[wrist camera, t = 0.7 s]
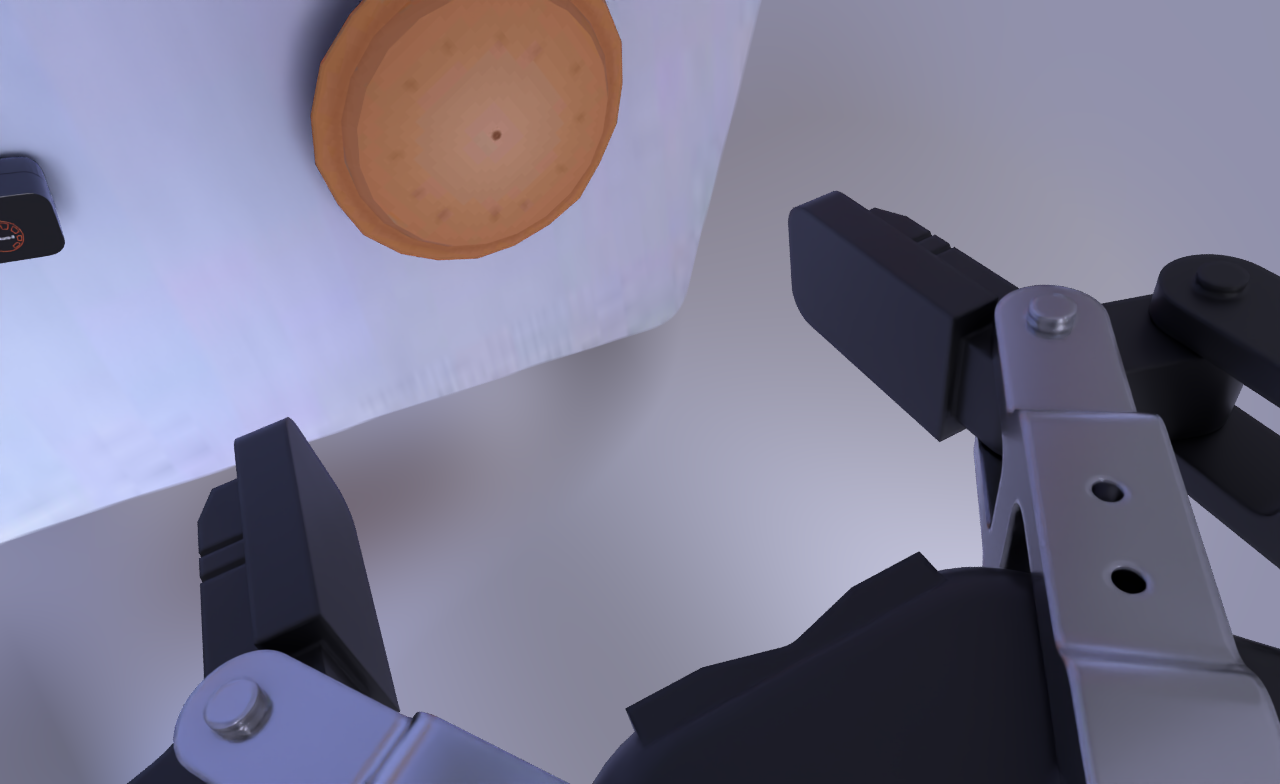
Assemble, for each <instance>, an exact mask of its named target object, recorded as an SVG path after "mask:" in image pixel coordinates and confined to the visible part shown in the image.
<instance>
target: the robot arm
mask: <svg viewBox="0 0 1280 784" xmlns="http://www.w3.org/2000/svg"><path fill="white" fill-rule="evenodd" d="M788 227H789V245H790V262H791V279H792V291H793V296H794V299H795V302H796V304H797V307H798V309H799V311H800V313H801V314H802V316H803V317H804V319H805V320H806V321H807V322H808V323H809V324H810V325H811V326H812V327H813V328H814V329H815V330H816V331H817V332H818V333H819V334H821V335H822V336H823V337H824V338H825V339H826V340H827V341H828V342H830V343H831V344H832V345H833V346H834V347H835V348H836V349H837V350H838V351H840V352H841V353H842V354H843V355H844V356H845V357H846V358H847V359H848V360H849V361H850V362H852V363H853V364H854V365H855V366H856V367H857V368H858V369H859V370H860V371H862V372H863V373H864V374H865V375H866V376H867V377H868V378H869V379H870V380H872V381H873V382H874V383H875V384H876V385H877V386H878V387H879V388H880V389H881V390H883V391H884V392H885V393H886V394H887V395H888V396H889V397H890V398H891V399H893V400H894V401H895V402H896V403H897V404H898V405H899V406H900V407H901V408H902V409H904V410H905V411H906V412H907V413H908V414H909V415H910V416H911V417H912V418H914V419H915V420H916V421H917V422H918V423H919V424H920V425H921V426H922V427H924V428H925V429H926V430H927V431H928V432H929V433H930V434H931V435H932V436H933V437H935V438H936V439H937V440H938V441H939V442H941V441H943V440H945V439H947V438H949V437H950V436H953V435H955V434H956V433H958V432H960V431H962V430H964V429H966V428H967V429H968V430H969V431H970V432H971V433H972V434H974V435H975V436H976V437H975V444H974V461H975V471H976V482H977V493H978V503H979V514H980V525H981V535H982V547H983V566H982V567H961V568H953V569H945V570H940V571H937V570H936V569H935V568H934V567H933V566H932V565H931V563H930V562H929V561H928V560H927V559H926V558H925V557H924V556H923V555H922V554H921V553H920V552H917V553H915V554H913V555H911V556H910V557H908V558H906V559H904V560H902V561H900V562H899V563H897V564H895V565H893V566H891V567H889V568H887V569H885V570H883V571H882V572H880V573H878V574H876V575H874V576H872V577H871V578H869V579H867V580H865V581H863V582H861V583H859V584H857V585H856V586H854V587H852V588H851V589H850V590H848V591H847V592H846V593H845V594H844V595H843V596H842V597H841V598H840V599H839V600H838V601H837V602H836V603H835V604H834V605H833V606H832V607H831V608H830V609H829V610H828V611H826V612H825V613H824V614H823V615H822V616H821V617H820V618H819V619H818V620H817V621H816V622H815V623H814V624H813V625H812V626H811V627H810V628H809V629H807V630H806V632H804V633H803V634H802V635H801V636H800V637H799V638H798V639H797V640H796V641H794V642H793V643H791V644H789V645H787V646H784V647H782V648H777V649H773V650H769V651H765V652H762V653H757V654H754V655H750V656H746V657H742V658H738V659H734V660H730V661H726V662H722V663H718V664H714V665H710V666H706V667H702V668H700V669H699V670H697V671H695V672H693V673H691V674H689V675H687V676H685V677H684V678H682V679H680V680H678V681H676V682H674V683H672V684H670V685H669V686H667V687H665V688H663V689H661V690H659V691H657V692H655V693H654V694H652V695H650V696H648V697H646V698H644V699H642V700H641V701H639V702H637V703H635V704H633V705H631V706H629V707H627V708H626V711H627V714H628V716H629V719H630V721H631V724H632V726H633V729H634V731H635V732H634V733H633V734H632V735H631V736H630V737H629V738H628V739H627V740H626V741H625V742H624V743H623V744H621V745H620V747H619V748H618V749H617V750H616V751H615V753H614V754H613V755H612V756H611V757H610V758H609V760H608V761H607V762H606V763H605V765H604V767H603V768H602V770H601V771H600V773H599V774H598V776H597V777H596V779H595V780H594V782H593V784H1280V649H1279V648H1275V647H1272V646H1269V645H1265V644H1262V643H1259V642H1255V641H1252V640H1249V639H1245V638H1242V637H1239V636H1236V635H1232V632H1231V628H1230V626H1229V622H1228V619H1227V616H1226V613H1225V610H1224V607H1223V603H1222V600H1221V597H1220V594H1219V591H1218V588H1217V585H1216V582H1215V579H1214V575H1213V572H1212V569H1211V566H1210V563H1209V560H1208V557H1207V554H1206V551H1205V547H1204V544H1203V541H1202V538H1201V535H1200V532H1199V529H1198V526H1197V523H1196V519H1195V516H1194V513H1193V510H1192V507H1191V504H1190V501H1189V498H1188V495H1189V496H1190V497H1191V498H1193V499H1194V500H1195V501H1196V502H1198V503H1199V504H1200V505H1201V506H1202V507H1204V508H1205V509H1206V510H1207V511H1209V512H1210V513H1211V514H1212V515H1214V516H1215V517H1216V518H1217V519H1219V520H1220V521H1221V522H1222V523H1223V524H1225V525H1226V526H1227V527H1229V528H1230V529H1231V530H1232V531H1233V532H1235V533H1236V534H1237V535H1238V536H1240V537H1241V538H1242V539H1243V540H1244V541H1246V542H1247V543H1248V544H1249V545H1251V546H1252V547H1253V548H1255V549H1256V550H1257V551H1258V552H1259V553H1261V554H1262V555H1263V556H1264V557H1266V558H1267V559H1268V560H1269V561H1271V562H1272V563H1273V564H1274V565H1276V566H1277V567H1278V568H1279V569H1280V436H1279V435H1278V434H1277V433H1275V432H1274V431H1272V430H1271V429H1269V428H1268V427H1266V426H1265V425H1263V424H1262V423H1260V422H1259V421H1257V420H1256V419H1254V418H1253V417H1252V416H1250V415H1249V414H1247V413H1246V412H1244V411H1243V410H1241V409H1240V408H1238V407H1237V406H1235V405H1234V404H1235V402H1236V400H1237V398H1238V395H1239V393H1240V391H1241V389H1242V386H1243V384H1244V385H1245V386H1247V387H1249V388H1250V389H1252V390H1253V391H1255V392H1256V393H1258V394H1259V395H1261V396H1262V397H1264V398H1265V399H1267V400H1268V401H1270V402H1271V403H1273V404H1275V405H1276V406H1278V407H1279V408H1280V276H1278V275H1276V274H1274V273H1272V272H1270V271H1268V270H1266V269H1265V268H1262V267H1261V266H1259V265H1256V264H1254V263H1252V262H1249V261H1246V260H1243V259H1239V258H1235V257H1231V256H1224V255H1214V254H1204V255H1203V254H1201V255H1191V256H1186V257H1182V258H1179V259H1177V260H1174V261H1172V262H1170V263H1168V264H1167V265H1166V266H1165V267H1164V268H1163V269H1162V270H1161V272H1160V274H1159V277H1158V280H1157V284H1156V287H1155V290H1154V293H1153V294H1151V295H1146V296H1140V297H1135V298H1129V299H1124V300H1119V301H1113V302H1108V303H1103V304H1101V303H1099V302H1098V301H1097V300H1096V299H1094V298H1093V297H1091V296H1090V295H1088V294H1085V293H1083V292H1081V291H1078V290H1075V289H1072V288H1068V287H1064V286H1055V285H1034V286H1028V287H1024V288H1020V289H1019V288H1018V287H1016V286H1015V285H1013V284H1011V283H1010V282H1008V281H1007V280H1005V279H1003V278H1002V277H1000V276H999V275H997V274H996V273H994V272H993V271H991V270H990V269H988V268H986V267H985V266H983V265H982V264H980V263H979V262H977V261H975V260H974V259H972V258H971V257H969V256H968V255H966V254H965V253H963V252H961V251H960V250H958V249H956V248H955V247H954V248H951V247H950V244H949V243H947V242H945V241H944V240H943V239H941V238H939V237H938V236H936V235H933V236H932V235H931V233H930V231H929V230H927V229H925V228H924V227H922V226H921V225H919V224H918V223H916V222H915V221H913V220H911V219H910V218H908V217H907V216H903V215H899V214H896V213H892V212H889V211H885V210H881V209H878V208H873V209H871V210H867V209H866V208H864V207H863V206H861V205H860V204H858V203H857V202H855V201H854V200H852V199H851V198H849V197H848V196H846V195H845V194H843V193H841V192H839V191H833V192H831V193H828V194H826V195H823V196H821V197H819V198H816V199H814V200H811V201H809V202H806V203H804V204H802V205H799V206H797V207H795V208H793V209H792V210H791V211H790V214H789V218H788ZM234 451H235V461H236V471H237V479H234V480H232V481H230V482H228V483H225V484H223V485H220V486H218V487H216V488H213V489H212V490H211V492H210V495H209V497H208V499H207V502H206V504H205V506H204V508H203V511H202V513H201V515H200V518H199V520H198V546H199V554H200V555H201V558H199V570H200V578H201V580H202V583H201V584H200V593H201V616H202V640H203V663H204V680H203V681H202V682H201V683H200V684H199V685H198V686H197V687H196V688H195V690H194V691H193V692H192V693H191V695H190V696H189V698H188V699H187V701H186V703H185V704H184V706H183V708H182V710H181V712H180V714H179V716H178V719H177V722H176V725H175V730H174V737H173V742H174V743H173V744H172V745H171V746H170V747H169V748H168V749H167V750H166V751H165V753H164V754H162V755H161V756H160V757H159V758H158V759H157V760H156V761H155V762H154V763H152V764H151V765H150V766H148V767H147V768H146V769H145V770H144V771H142V772H141V773H140V774H139V775H137V776H136V777H135V778H134V779H132V780H131V781H130V782H129V783H127V784H570V783H568V782H565V781H563V780H561V779H560V778H558V777H555V776H554V775H552V774H550V773H548V772H546V771H544V770H542V769H540V768H538V767H536V766H534V765H532V764H530V763H528V762H526V761H524V760H522V759H520V758H518V757H516V756H514V755H512V754H510V753H508V752H506V751H504V750H502V749H500V748H498V747H496V746H495V745H493V744H491V743H489V742H486V741H484V740H483V739H481V738H479V737H477V736H475V735H473V734H471V733H469V732H467V731H465V730H463V729H461V728H459V727H457V726H455V725H453V724H451V723H449V722H447V721H445V720H443V719H441V718H439V717H437V716H434V715H432V714H429V713H425V712H417V713H416V714H415V715H414V717H413V718H411V717H407V716H405V715H402V714H400V713H399V712H400V709H399V705H398V701H397V697H396V693H395V689H394V685H393V681H392V677H391V672H390V668H389V664H388V660H387V656H386V652H385V648H384V644H383V639H382V636H381V631H380V627H379V623H378V619H377V615H376V611H375V607H374V603H373V598H372V594H371V590H370V586H369V582H368V578H367V574H366V569H365V566H364V562H363V557H362V553H361V549H360V545H359V541H358V537H357V532H356V528H355V525H354V522H353V519H352V516H351V513H350V511H349V508H348V506H347V504H346V502H345V500H344V498H343V496H342V494H341V492H340V490H339V489H338V487H337V486H336V484H335V482H334V481H333V479H332V478H331V477H330V475H329V473H328V472H327V470H326V469H325V467H324V466H323V464H322V463H321V461H320V460H319V458H318V457H317V455H316V454H315V452H314V451H313V449H312V448H311V446H310V444H309V443H308V441H307V440H306V438H305V437H304V435H303V434H302V432H301V431H300V429H299V428H298V426H297V425H296V424H295V422H294V421H293V420H292V419H290V418H289V417H287V418H285V419H282V420H280V421H278V422H275V423H273V424H270V425H268V426H266V427H263V428H261V429H258V430H256V431H254V432H251V433H249V434H246V435H244V436H242V437H239V438H237V439H235V441H234Z"/></svg>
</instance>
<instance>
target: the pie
mask: <svg viewBox="0 0 1280 784" xmlns="http://www.w3.org/2000/svg"><path fill="white" fill-rule="evenodd" d="M621 89H622V42H621V39H620V37H619V34H618V32H617V29H616V27H615V24H614V22H613V19H612V17H611V14H610V12H609V9H608V7H607V4H606V2H605V0H362V1H361V2H360V4H359V5H358V6H357V7H356V8H355V9H354V10H353V11H352V12H351V13H350V15H349V16H348V18H347V20H346V21H345V23H344V25H343V26H342V28H341V30H340V31H339V33H338V35H337V36H336V38H335V40H334V41H333V43H332V45H331V46H330V48H329V50H328V51H327V53H326V54H325V56H324V58H323V59H322V61H321V63H320V68H319V73H318V78H317V84H316V89H315V94H314V100H313V105H312V110H311V126H312V135H313V145H314V155H315V164H316V166H317V168H318V170H319V172H320V173H321V175H322V177H323V179H324V180H325V182H326V184H327V186H328V188H329V189H330V191H331V193H332V195H333V197H334V198H335V200H336V202H337V204H338V205H339V206H340V208H341V209H342V210H343V211H344V212H345V213H346V215H347V216H348V217H349V218H350V219H351V221H352V222H353V223H354V224H355V225H356V227H357V228H358V229H359V230H360V231H361V232H362V234H363V235H365V236H367V237H369V238H371V239H373V240H375V241H377V242H379V243H381V244H383V245H385V246H387V247H389V248H391V249H393V250H395V251H397V252H399V253H401V254H405V255H411V256H417V257H423V258H428V259H434V260H454V259H476V258H480V257H483V256H486V255H489V254H492V253H494V252H497V251H500V250H503V249H506V248H509V247H512V246H514V245H516V244H518V243H519V242H521V241H523V240H524V239H526V238H528V237H529V236H531V235H533V234H534V233H536V232H538V231H539V230H541V229H543V228H544V227H546V226H548V225H549V224H550V223H552V222H553V221H554V220H555V219H556V218H557V217H559V216H560V215H561V214H562V213H563V212H564V211H565V210H567V209H568V208H569V207H570V206H571V205H572V204H574V203H575V202H576V201H577V200H578V199H579V198H580V197H581V195H582V193H583V191H584V190H585V188H586V186H587V184H588V183H589V181H590V179H591V177H592V176H593V174H594V172H595V170H596V169H597V167H598V165H599V163H600V161H601V159H602V156H603V154H604V152H605V149H606V147H607V145H608V142H609V140H610V138H611V136H612V133H613V131H614V129H615V126H616V124H617V118H618V111H619V103H620V96H621Z"/></svg>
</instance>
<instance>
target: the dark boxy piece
mask: <svg viewBox="0 0 1280 784" xmlns="http://www.w3.org/2000/svg"><path fill="white" fill-rule="evenodd" d="M64 245H65V240H64V236H63V232H62V229H61V225H60V222H59V218H58V214H57V211H56V207H55V204H54V201H53V198H52V196H51V193H50V190H49V187H48V185H47V182H46V179H45V177H44V174H43V171H42V169H41V168H40V166H39V165H38V164H37V163H36V162H35V161H34V160H32V159H30V158H27V157H9V158H0V263H6V262H12V261H18V260H25V259H31V258H37V257H43V256H49V255H53V254H56V253H58V252H60V251H61V250H62V249H63V247H64Z"/></svg>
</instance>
